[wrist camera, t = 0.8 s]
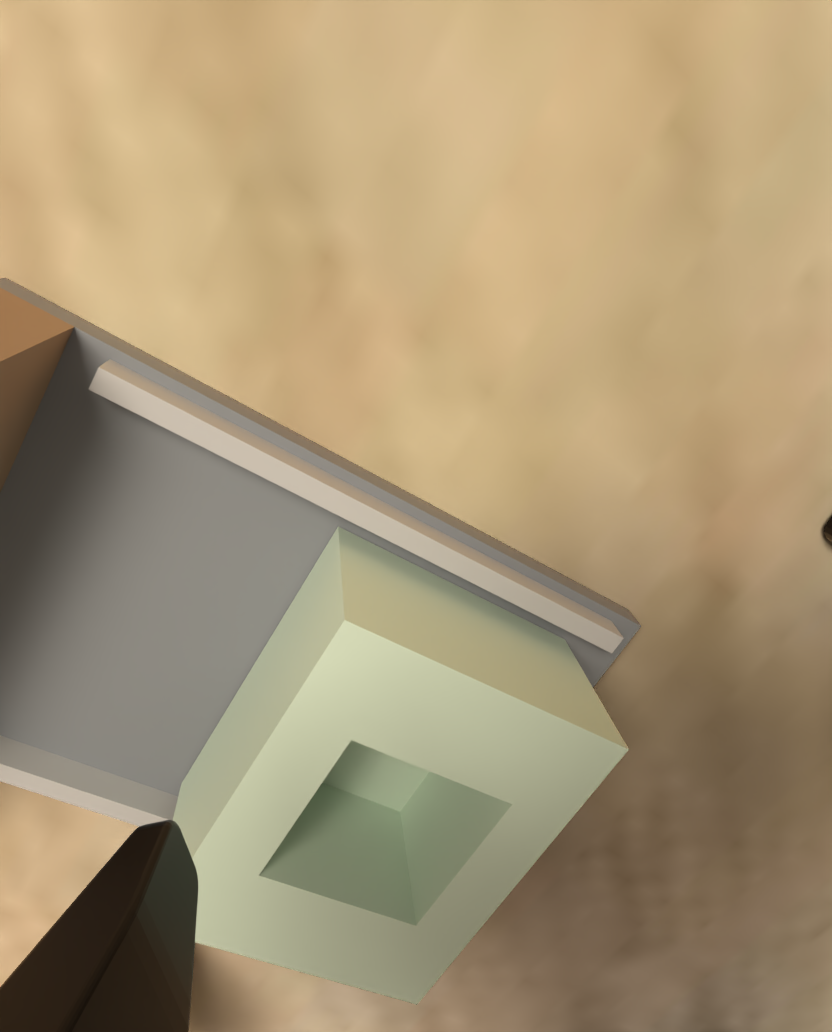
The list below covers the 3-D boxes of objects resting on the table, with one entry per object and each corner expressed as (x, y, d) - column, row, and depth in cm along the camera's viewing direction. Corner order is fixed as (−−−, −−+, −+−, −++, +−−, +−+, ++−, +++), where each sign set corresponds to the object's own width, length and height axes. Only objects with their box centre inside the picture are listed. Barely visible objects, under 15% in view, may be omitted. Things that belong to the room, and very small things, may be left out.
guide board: (628, 610, 24) (723, 731, 18) (420, 878, 27) (447, 1048, 22) (5, 277, 17) (-137, 307, 12) (-159, 679, 21) (-328, 845, 15)
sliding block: (564, 639, 22) (628, 749, 18) (398, 859, 25) (417, 1004, 20) (338, 526, 20) (344, 619, 15) (181, 783, 23) (147, 928, 18)
